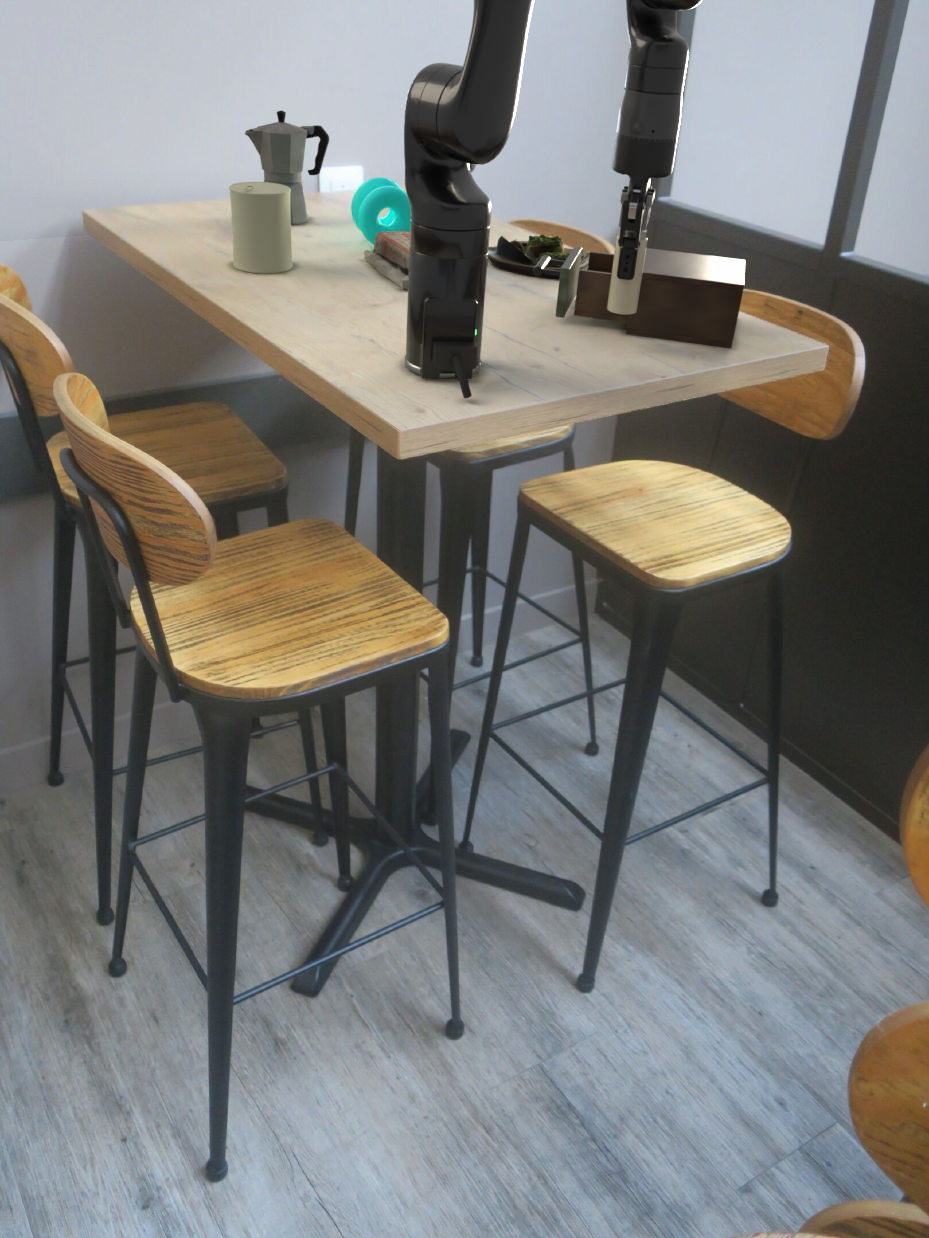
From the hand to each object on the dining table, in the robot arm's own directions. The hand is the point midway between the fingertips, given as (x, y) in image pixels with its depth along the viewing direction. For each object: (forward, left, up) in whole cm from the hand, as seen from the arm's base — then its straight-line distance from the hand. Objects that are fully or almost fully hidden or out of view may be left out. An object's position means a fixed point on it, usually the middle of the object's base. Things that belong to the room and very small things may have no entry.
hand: (626, 273), depth 137 cm
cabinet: (+9, -12, -9) cm, 18 cm away
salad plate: (+41, +3, -10) cm, 42 cm away
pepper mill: (0, 0, -5) cm, 5 cm away
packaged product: (+33, +25, -10) cm, 42 cm away
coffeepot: (+68, +44, -10) cm, 81 cm away
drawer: (+13, 0, -9) cm, 16 cm away
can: (+35, +48, -10) cm, 60 cm away
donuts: (+52, +28, -10) cm, 60 cm away
